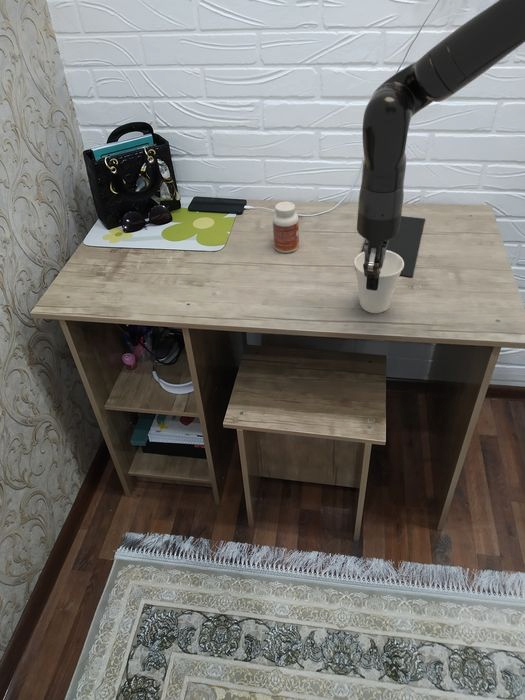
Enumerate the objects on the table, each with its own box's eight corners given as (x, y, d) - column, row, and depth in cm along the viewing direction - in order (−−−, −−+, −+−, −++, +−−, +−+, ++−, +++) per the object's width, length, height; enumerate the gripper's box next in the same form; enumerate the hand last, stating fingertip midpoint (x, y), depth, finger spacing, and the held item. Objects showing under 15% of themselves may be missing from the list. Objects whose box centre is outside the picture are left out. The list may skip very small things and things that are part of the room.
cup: (400, 320, 118) (407, 276, 110) (352, 320, 119) (355, 276, 111) (395, 291, 125) (401, 248, 118) (350, 291, 126) (352, 248, 118)
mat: (412, 277, 128) (412, 276, 128) (355, 269, 132) (355, 268, 132) (425, 219, 146) (425, 218, 146) (374, 214, 150) (374, 213, 150)
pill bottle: (302, 251, 139) (302, 210, 131) (278, 255, 138) (276, 214, 130) (294, 238, 143) (293, 197, 136) (270, 242, 142) (268, 202, 135)
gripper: (396, 229, 93) (386, 311, 105) (406, 191, 103) (396, 271, 114) (351, 224, 95) (346, 305, 107) (365, 187, 105) (359, 266, 116)
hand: (372, 287), depth 111 cm, fingers closed
